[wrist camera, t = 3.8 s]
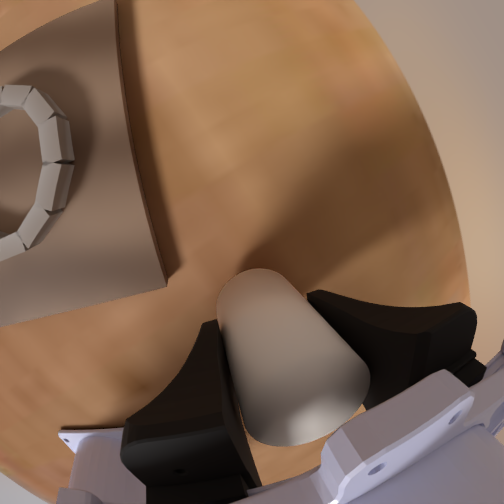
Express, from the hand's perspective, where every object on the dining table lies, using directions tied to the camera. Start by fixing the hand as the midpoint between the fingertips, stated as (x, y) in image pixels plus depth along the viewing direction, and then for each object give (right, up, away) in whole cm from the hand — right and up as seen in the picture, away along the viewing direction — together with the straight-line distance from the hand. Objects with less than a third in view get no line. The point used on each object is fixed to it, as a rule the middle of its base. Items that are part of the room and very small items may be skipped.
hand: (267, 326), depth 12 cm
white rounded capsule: (0, 0, +2) cm, 2 cm away
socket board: (-13, +7, -2) cm, 15 cm away
